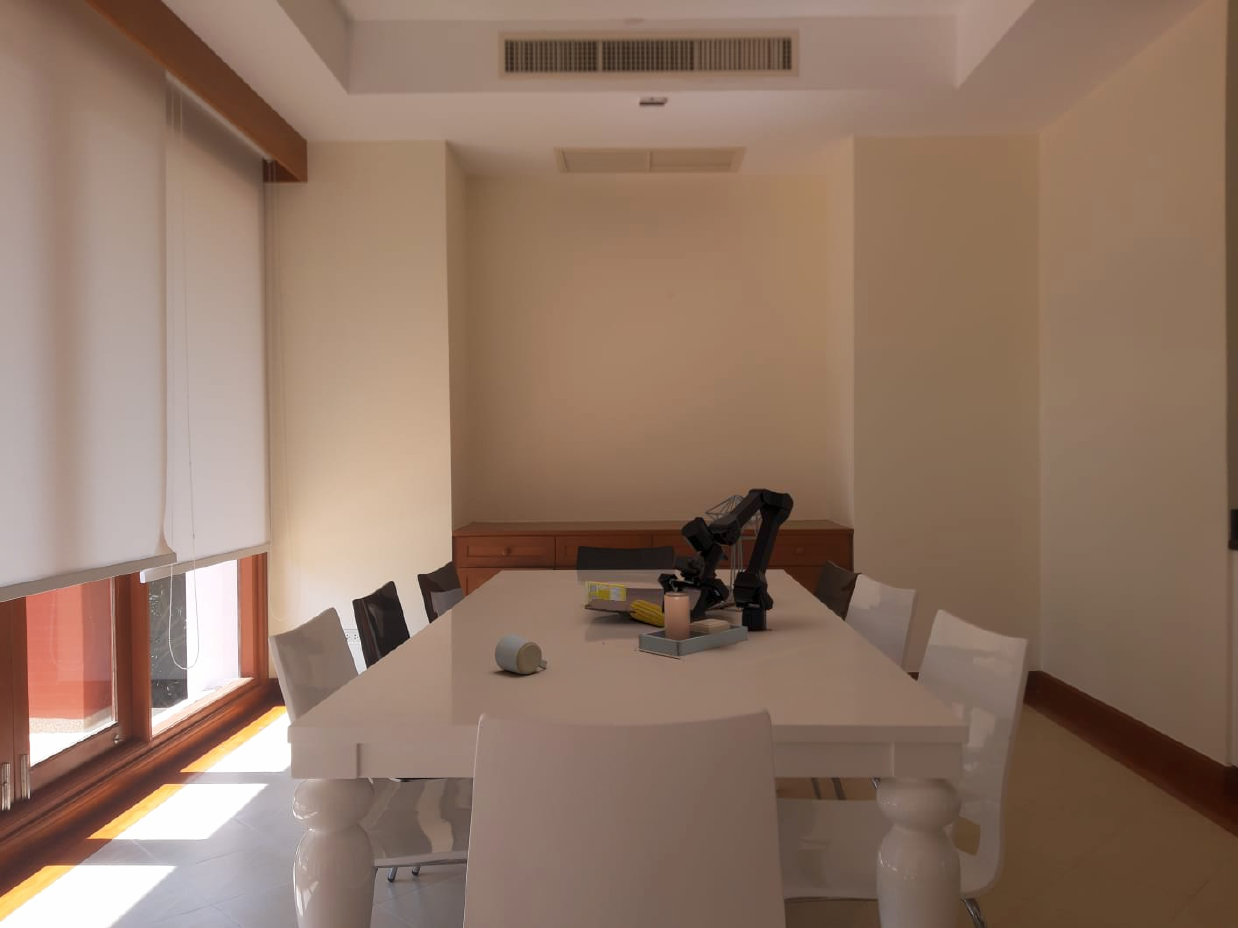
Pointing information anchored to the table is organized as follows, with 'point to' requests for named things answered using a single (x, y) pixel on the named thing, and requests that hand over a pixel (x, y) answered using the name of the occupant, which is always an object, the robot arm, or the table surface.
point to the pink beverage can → (677, 615)
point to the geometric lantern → (730, 500)
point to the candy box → (604, 591)
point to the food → (648, 612)
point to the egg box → (710, 626)
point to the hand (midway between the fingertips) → (677, 614)
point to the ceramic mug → (518, 655)
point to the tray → (691, 641)
